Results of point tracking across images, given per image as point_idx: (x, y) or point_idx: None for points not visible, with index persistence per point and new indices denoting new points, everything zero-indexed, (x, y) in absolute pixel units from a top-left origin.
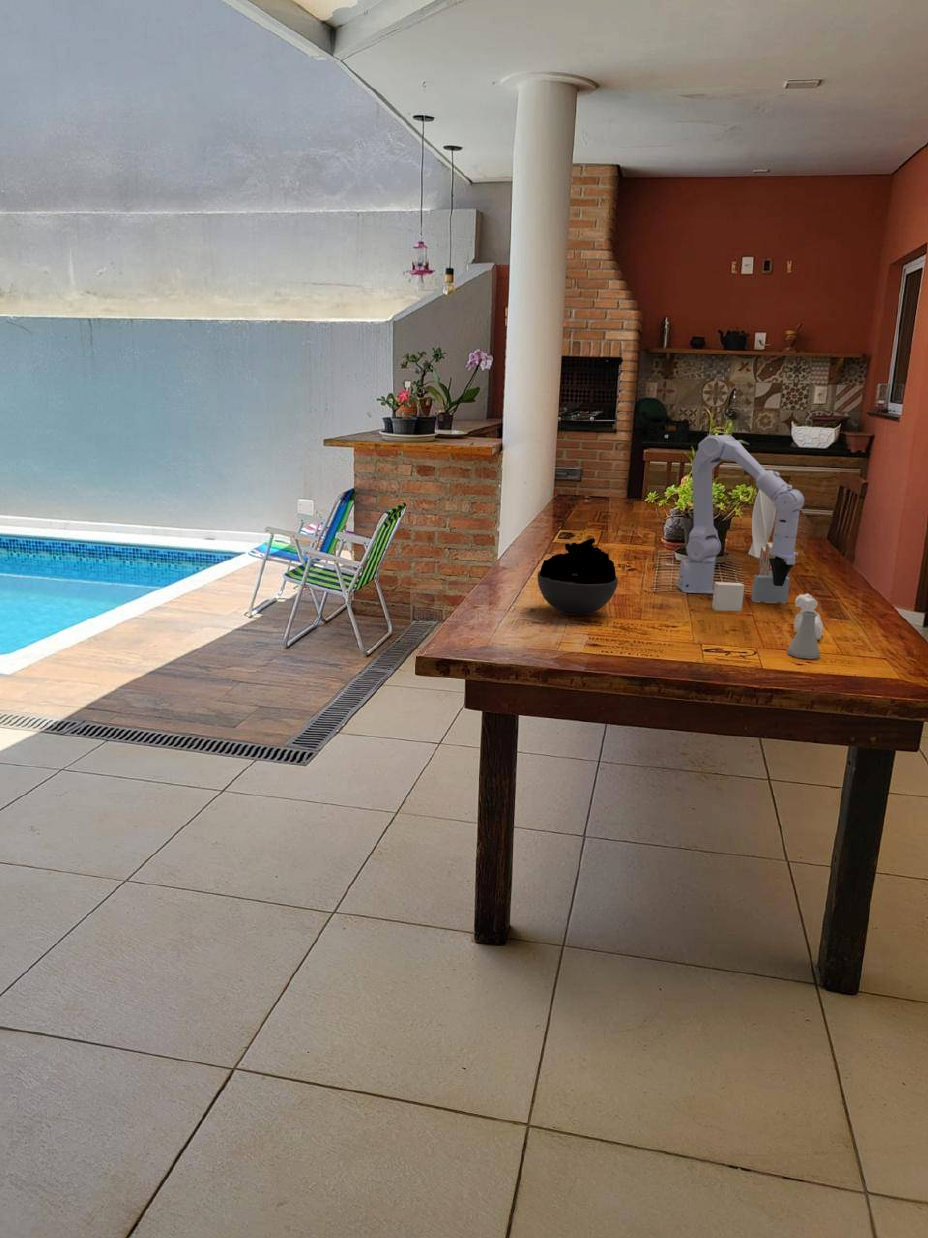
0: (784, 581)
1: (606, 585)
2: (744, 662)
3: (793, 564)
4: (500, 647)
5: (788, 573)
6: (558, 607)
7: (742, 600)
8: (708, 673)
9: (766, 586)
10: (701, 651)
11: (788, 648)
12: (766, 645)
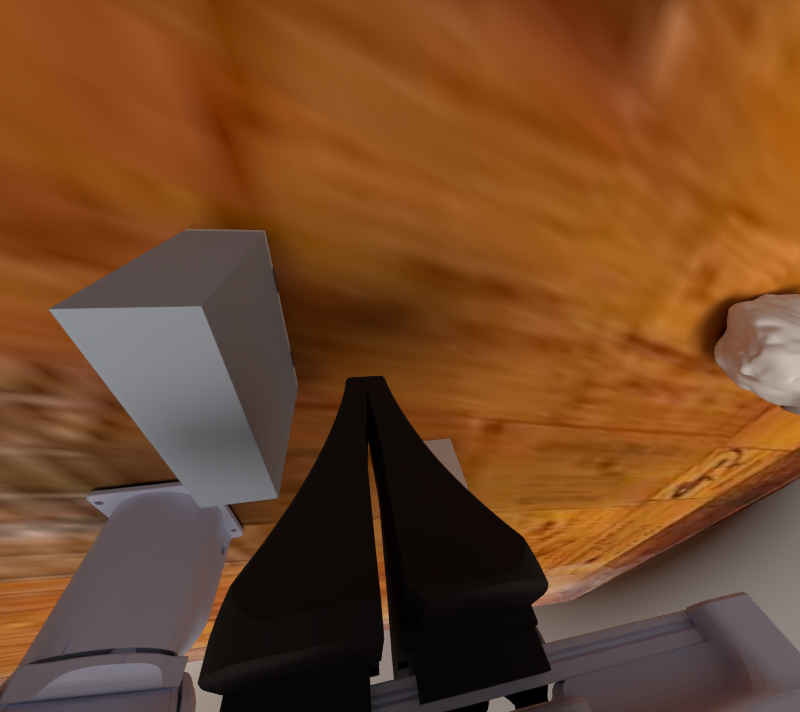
0: (391, 395)
1: (543, 643)
2: (754, 465)
3: (736, 598)
4: (568, 588)
5: None
6: None
7: (461, 471)
8: (746, 494)
9: (276, 411)
10: (676, 499)
11: (795, 413)
12: (723, 431)
